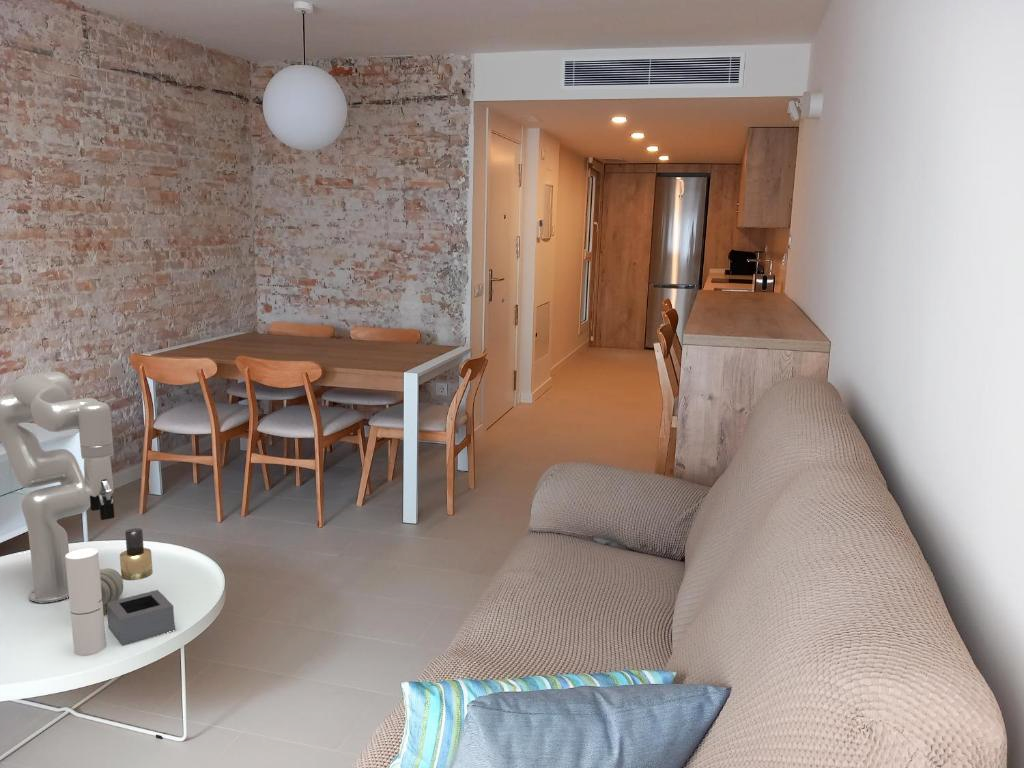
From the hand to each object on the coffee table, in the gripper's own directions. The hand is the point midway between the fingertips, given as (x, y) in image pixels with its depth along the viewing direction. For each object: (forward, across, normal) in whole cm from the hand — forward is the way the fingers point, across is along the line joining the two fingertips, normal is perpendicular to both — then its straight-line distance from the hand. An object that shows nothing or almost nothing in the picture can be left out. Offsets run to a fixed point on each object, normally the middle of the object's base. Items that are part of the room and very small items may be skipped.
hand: (102, 514), depth 215 cm
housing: (+30, +9, +5) cm, 32 cm away
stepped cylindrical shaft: (+15, +9, +5) cm, 18 cm away
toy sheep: (+31, -11, +1) cm, 33 cm away
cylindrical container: (+31, +12, -8) cm, 34 cm away
